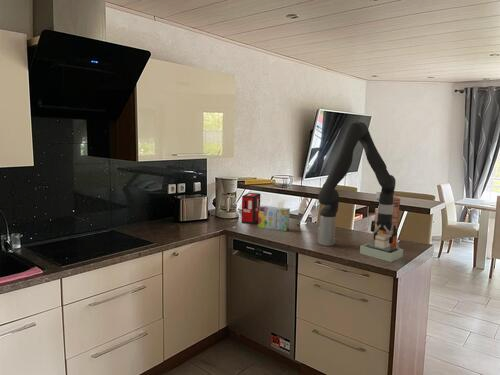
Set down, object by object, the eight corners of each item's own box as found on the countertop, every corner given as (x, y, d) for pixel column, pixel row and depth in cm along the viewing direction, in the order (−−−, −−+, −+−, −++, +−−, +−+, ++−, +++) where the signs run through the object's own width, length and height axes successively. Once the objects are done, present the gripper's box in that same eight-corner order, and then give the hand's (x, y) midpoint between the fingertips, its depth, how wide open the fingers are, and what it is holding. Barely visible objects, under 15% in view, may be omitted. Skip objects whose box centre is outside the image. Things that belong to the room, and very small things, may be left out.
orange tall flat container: (373, 238, 242) (376, 192, 238) (386, 239, 241) (389, 192, 237) (381, 249, 219) (385, 198, 215) (395, 250, 218) (400, 198, 214)
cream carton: (374, 246, 204) (375, 235, 203) (381, 243, 209) (382, 233, 208) (383, 248, 201) (384, 237, 200) (390, 246, 205) (390, 235, 205)
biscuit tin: (367, 254, 207) (367, 245, 206) (375, 250, 213) (376, 242, 212) (388, 259, 198) (389, 250, 197) (396, 256, 204) (397, 247, 203)
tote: (359, 254, 208) (360, 245, 207) (372, 250, 217) (372, 241, 216) (390, 263, 195) (391, 254, 194) (402, 258, 204) (403, 249, 203)
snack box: (289, 229, 258) (290, 208, 256) (286, 231, 253) (287, 209, 251) (261, 225, 268) (261, 204, 266) (257, 227, 263) (258, 206, 261)
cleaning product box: (248, 218, 289) (249, 192, 286) (259, 219, 286) (260, 193, 284) (241, 223, 273) (242, 195, 271) (253, 224, 271) (254, 196, 268)
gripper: (369, 210, 205) (367, 239, 207) (394, 215, 194) (392, 246, 197) (376, 209, 210) (374, 237, 212) (401, 213, 199) (398, 243, 202)
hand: (382, 241), depth 204 cm, fingers open, 8 cm apart
